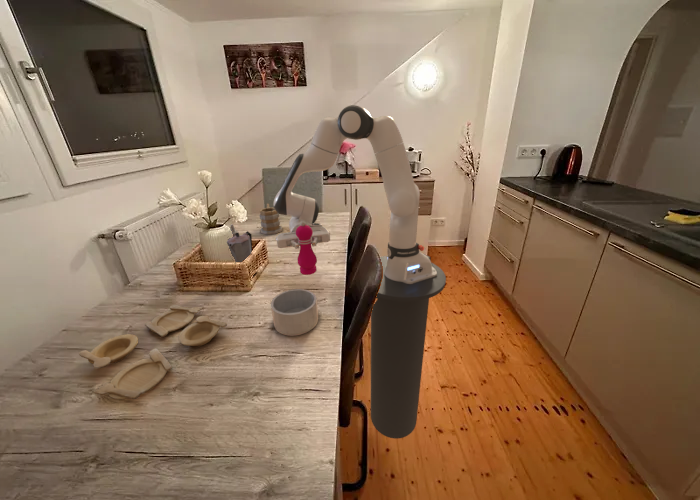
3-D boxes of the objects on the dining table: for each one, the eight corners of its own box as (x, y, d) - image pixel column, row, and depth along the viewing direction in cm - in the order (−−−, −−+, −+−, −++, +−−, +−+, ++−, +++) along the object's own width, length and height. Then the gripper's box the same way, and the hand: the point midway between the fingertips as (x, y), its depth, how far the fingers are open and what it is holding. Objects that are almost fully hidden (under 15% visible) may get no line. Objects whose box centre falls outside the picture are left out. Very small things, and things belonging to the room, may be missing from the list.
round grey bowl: (314, 304, 102) (312, 286, 99) (321, 330, 89) (319, 309, 86) (273, 312, 99) (270, 293, 96) (274, 339, 86) (271, 318, 83)
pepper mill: (321, 269, 108) (317, 220, 100) (309, 277, 103) (303, 225, 94) (307, 265, 112) (302, 217, 104) (294, 272, 106) (288, 222, 98)
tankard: (282, 233, 174) (278, 209, 167) (260, 235, 171) (256, 211, 165) (281, 223, 191) (278, 201, 185) (262, 225, 189) (259, 203, 183)
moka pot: (228, 281, 120) (217, 237, 112) (246, 265, 134) (238, 225, 126) (248, 282, 118) (239, 238, 110) (264, 266, 132) (258, 226, 124)
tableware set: (183, 304, 105) (181, 295, 103) (239, 326, 92) (237, 316, 91) (63, 371, 77) (57, 360, 75) (120, 416, 64) (113, 404, 62)
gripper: (274, 229, 110) (275, 241, 98) (325, 222, 115) (332, 234, 103) (276, 243, 113) (278, 257, 101) (326, 237, 118) (333, 249, 106)
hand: (306, 245), depth 102 cm, fingers closed on pepper mill, 5 cm apart
